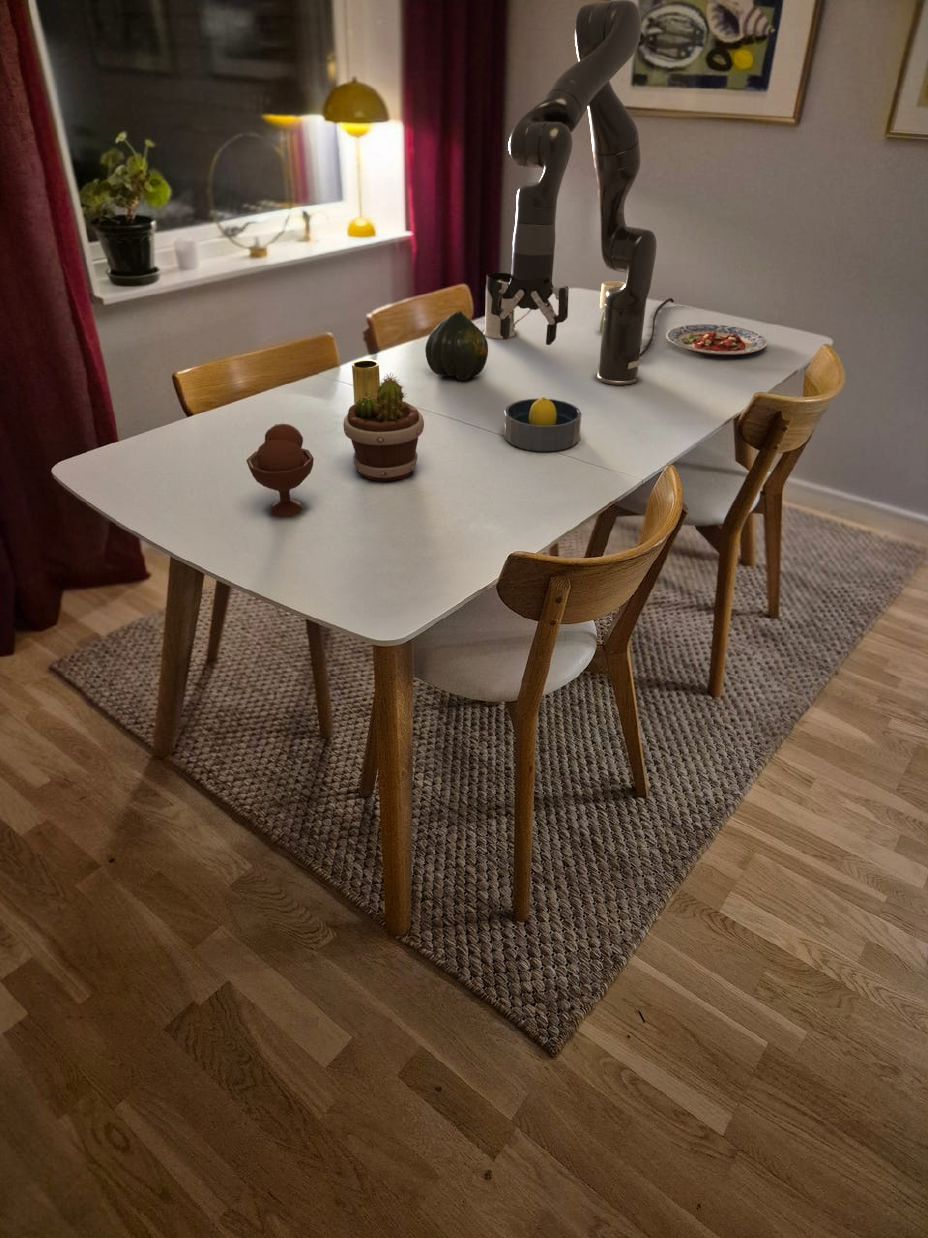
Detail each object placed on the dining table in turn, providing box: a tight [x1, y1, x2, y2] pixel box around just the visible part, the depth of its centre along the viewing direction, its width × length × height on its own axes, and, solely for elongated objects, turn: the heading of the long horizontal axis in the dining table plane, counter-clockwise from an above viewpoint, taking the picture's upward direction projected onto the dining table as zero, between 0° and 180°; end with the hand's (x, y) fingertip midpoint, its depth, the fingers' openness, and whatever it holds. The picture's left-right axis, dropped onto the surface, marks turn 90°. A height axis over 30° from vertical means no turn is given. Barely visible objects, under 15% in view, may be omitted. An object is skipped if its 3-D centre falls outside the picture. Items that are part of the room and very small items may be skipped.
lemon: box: [529, 396, 557, 426], centre depth 169 cm, size 6×6×8 cm
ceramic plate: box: [666, 323, 769, 357], centre depth 221 cm, size 26×26×3 cm
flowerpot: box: [342, 372, 425, 482], centre depth 153 cm, size 14×15×20 cm
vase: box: [351, 359, 381, 405], centre depth 169 cm, size 6×6×14 cm
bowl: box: [503, 398, 582, 453], centre depth 170 cm, size 15×15×6 cm
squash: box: [424, 310, 489, 381], centre depth 200 cm, size 14×15×15 cm
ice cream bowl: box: [245, 423, 315, 518], centre depth 141 cm, size 11×11×15 cm
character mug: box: [598, 280, 626, 333], centre depth 227 cm, size 11×7×13 cm, turn 146°
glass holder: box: [482, 272, 533, 339], centre depth 226 cm, size 9×14×15 cm, turn 82°
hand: (527, 341), depth 160 cm, fingers open, 8 cm apart
